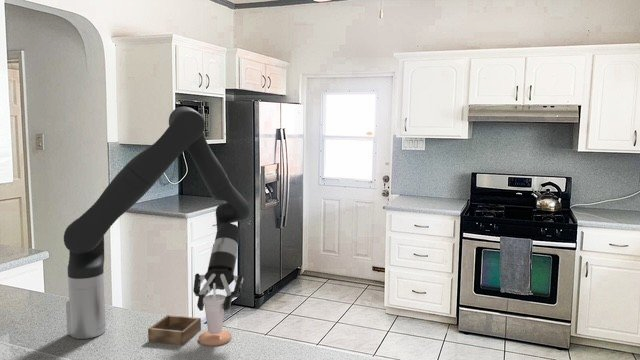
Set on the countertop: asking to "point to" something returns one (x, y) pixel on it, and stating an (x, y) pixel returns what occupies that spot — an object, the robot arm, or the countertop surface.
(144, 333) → the countertop surface
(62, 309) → the countertop surface
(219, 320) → the smoothie
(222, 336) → the peach glossy dome
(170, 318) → the crate
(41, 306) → the countertop surface
